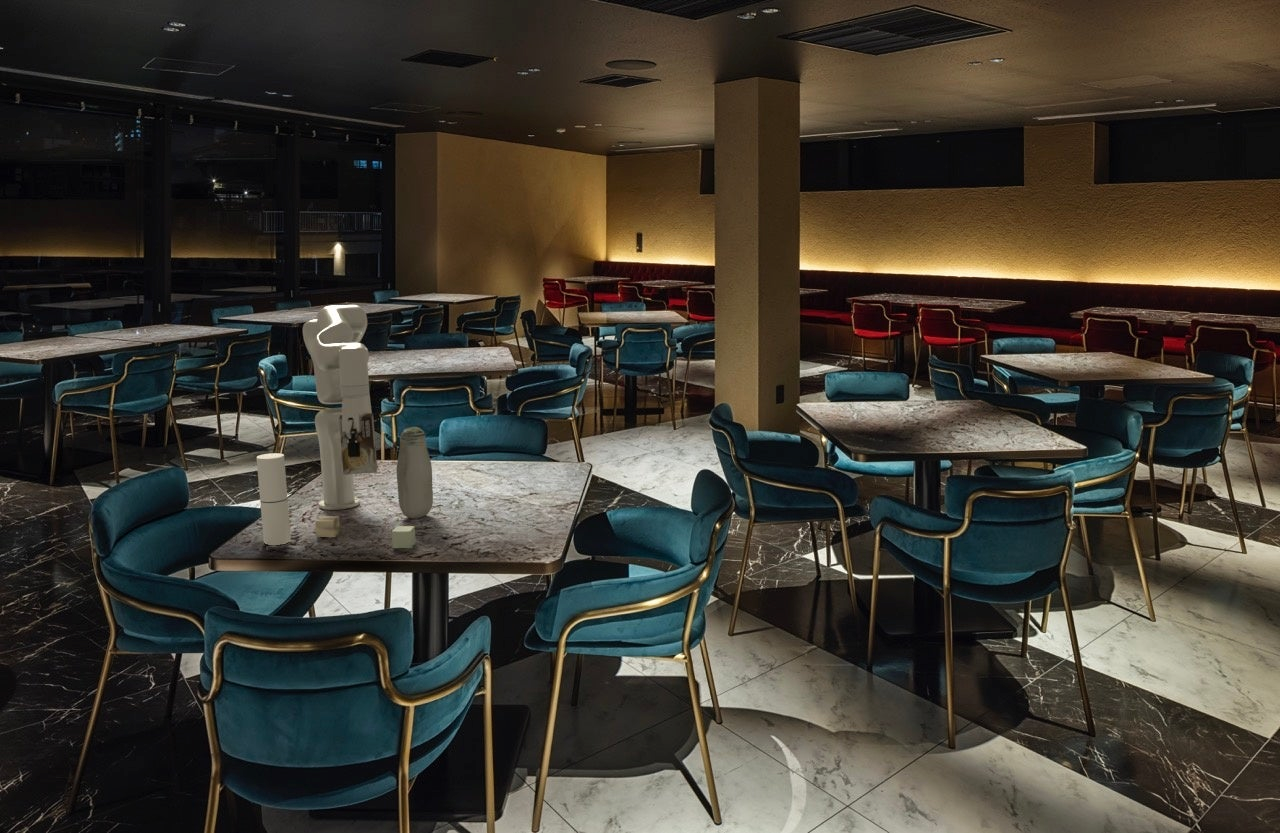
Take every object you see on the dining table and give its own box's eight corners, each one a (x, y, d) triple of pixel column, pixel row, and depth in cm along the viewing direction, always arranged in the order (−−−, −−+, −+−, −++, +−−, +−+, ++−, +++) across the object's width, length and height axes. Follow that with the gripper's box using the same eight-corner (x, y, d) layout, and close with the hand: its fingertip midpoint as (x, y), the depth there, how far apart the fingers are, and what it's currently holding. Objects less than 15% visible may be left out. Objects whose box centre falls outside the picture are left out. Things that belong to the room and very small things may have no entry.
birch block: (323, 532, 274) (321, 516, 273) (339, 532, 274) (338, 516, 273) (316, 538, 269) (315, 521, 268) (334, 538, 269) (332, 521, 268)
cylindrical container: (267, 548, 260) (260, 460, 255) (260, 541, 265) (253, 455, 261) (294, 543, 264) (287, 456, 260) (286, 537, 270) (279, 452, 265)
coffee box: (378, 468, 267) (374, 412, 265) (376, 473, 261) (372, 416, 258) (344, 469, 266) (340, 414, 263) (342, 475, 260) (338, 418, 257)
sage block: (397, 543, 263) (396, 526, 262) (415, 543, 263) (414, 526, 262) (392, 549, 258) (391, 531, 257) (410, 548, 258) (409, 531, 257)
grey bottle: (425, 522, 282) (420, 431, 277) (394, 521, 284) (388, 430, 279) (439, 513, 292) (434, 425, 287) (408, 512, 294) (403, 424, 289)
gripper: (352, 386, 268) (356, 446, 271) (330, 396, 251) (335, 460, 254) (378, 386, 268) (381, 446, 271) (358, 395, 251) (362, 460, 254)
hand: (359, 452), depth 263 cm, fingers closed on coffee box, 7 cm apart
